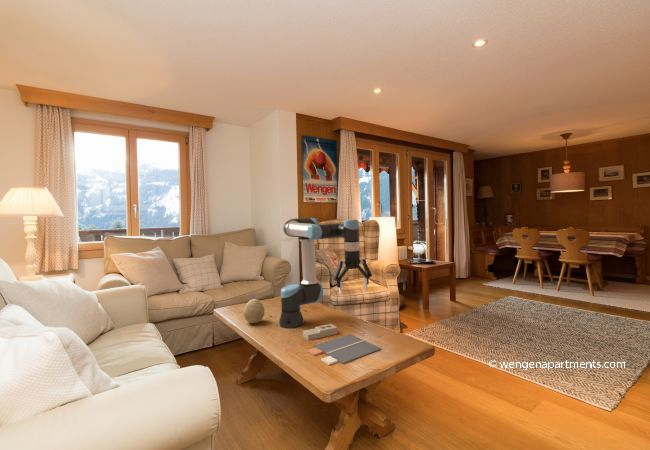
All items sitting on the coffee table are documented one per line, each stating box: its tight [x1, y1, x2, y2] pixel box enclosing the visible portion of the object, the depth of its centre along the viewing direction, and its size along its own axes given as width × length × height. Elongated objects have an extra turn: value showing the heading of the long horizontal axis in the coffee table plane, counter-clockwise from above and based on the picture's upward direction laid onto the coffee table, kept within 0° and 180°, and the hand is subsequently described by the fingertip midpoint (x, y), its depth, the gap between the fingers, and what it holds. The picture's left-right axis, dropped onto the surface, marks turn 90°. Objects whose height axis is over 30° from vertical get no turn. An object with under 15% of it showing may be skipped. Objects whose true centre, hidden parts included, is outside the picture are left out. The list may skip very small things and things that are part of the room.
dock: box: [307, 333, 382, 366], centre depth 157 cm, size 24×30×1 cm
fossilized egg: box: [243, 298, 265, 324], centre depth 200 cm, size 13×13×15 cm
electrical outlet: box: [302, 323, 339, 341], centre depth 177 cm, size 7×4×18 cm
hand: (353, 292), depth 161 cm, fingers open, 13 cm apart
